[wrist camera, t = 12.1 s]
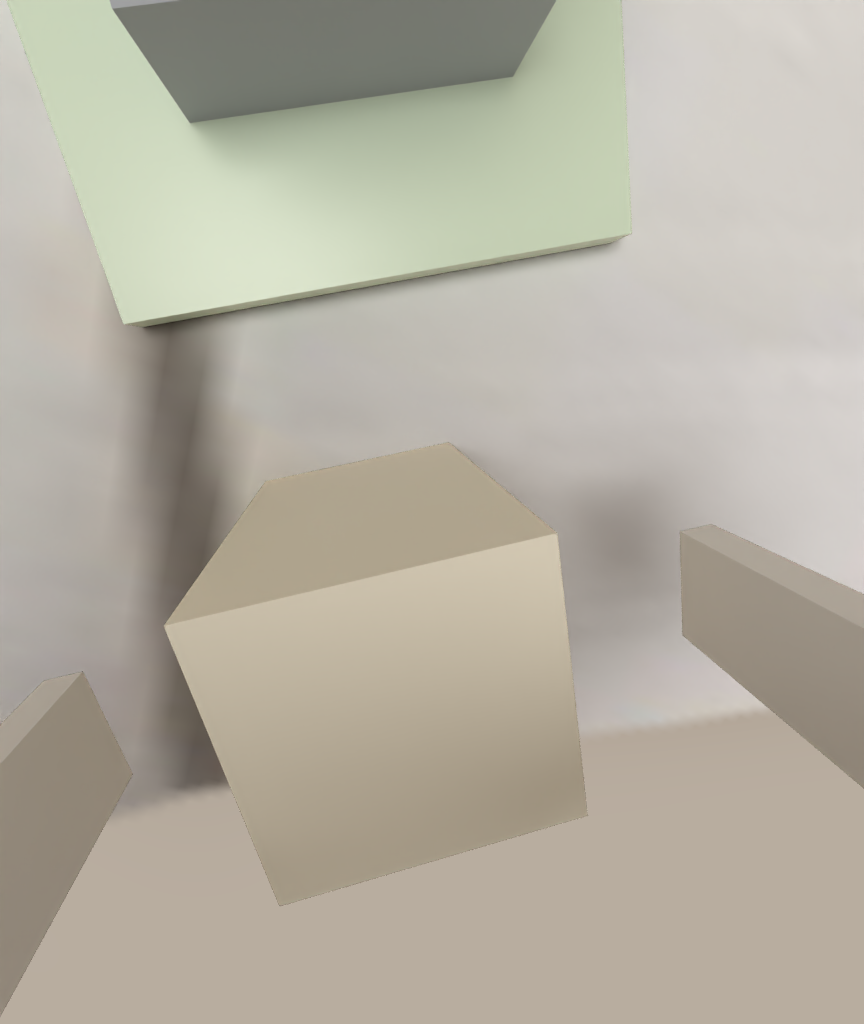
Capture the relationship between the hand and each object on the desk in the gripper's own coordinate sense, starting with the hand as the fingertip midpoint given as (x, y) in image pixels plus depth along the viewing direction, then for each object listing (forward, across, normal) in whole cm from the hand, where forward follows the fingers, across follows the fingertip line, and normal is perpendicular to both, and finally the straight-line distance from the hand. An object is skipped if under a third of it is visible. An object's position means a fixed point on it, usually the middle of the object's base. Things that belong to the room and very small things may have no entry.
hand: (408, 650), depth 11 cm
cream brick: (+6, 0, 0) cm, 6 cm away
